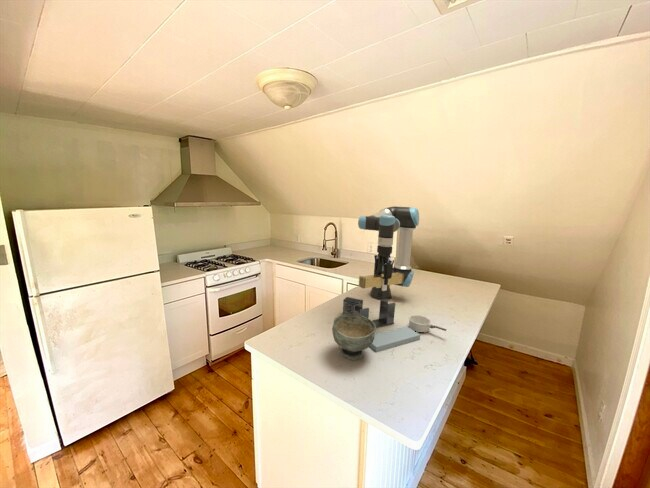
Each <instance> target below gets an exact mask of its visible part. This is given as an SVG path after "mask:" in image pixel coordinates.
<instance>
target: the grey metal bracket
mask: <svg viewBox="0 0 650 488" xmlns="http://www.w3.org/2000/svg"><path fill="white" fill-rule="evenodd" d="M363 304H364V303H363ZM363 304H356V305H354V314H353V315H360V316H364V317H366V318H368V319H370V318H369V314H370V308H369V307H365V308H364V307H363V306H364V305H363ZM395 310H396V303H395V302H391V303H389V299H384V300H380V299H379V312H378V313H379V314H378V318H377V319H372V320H371V321H373V322H374V324H375V326H376V328H375V329H377V328H382V327H387V326H392V325H394V324H395V321H394V320H395V312H396V311H395Z"/></svg>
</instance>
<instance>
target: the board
mask: <svg viewBox="0 0 650 488" xmlns="http://www.w3.org/2000/svg"><path fill="white" fill-rule="evenodd" d="M419 339H420V340H421V334H420V333H419V332H415V331H414V330H412V329H410V327H409V326H408V325H406V326H402V327H397V328H394V329H389V330H386V331H382V332H378V333H375V337H374V340H373V343H372V344H371V345H370V346H369V347H370V349H372V350H373V351H375V353H377V352H381V351H384V350H388V349H391V348H392V349H393V348H394V347H398V346H402V345H406V344H408V343H412V342H416V341H419Z"/></svg>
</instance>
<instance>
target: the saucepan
mask: <svg viewBox="0 0 650 488" xmlns="http://www.w3.org/2000/svg"><path fill="white" fill-rule="evenodd" d="M408 320H409V321H408V327H409V328H410V329H412V330H414V331H416V332H417V333H419V332H424V333H427V332H429V331H430V329H438V330H442V331H445V332H447V328H444V327H442V326H441V327H440V326H438V325H433V324H432V323H431V322H432V321H431V319H430V318H428V317H426V316H423V315H420V314H419V315H418V314H413V315H410V316H409V317H408Z"/></svg>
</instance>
